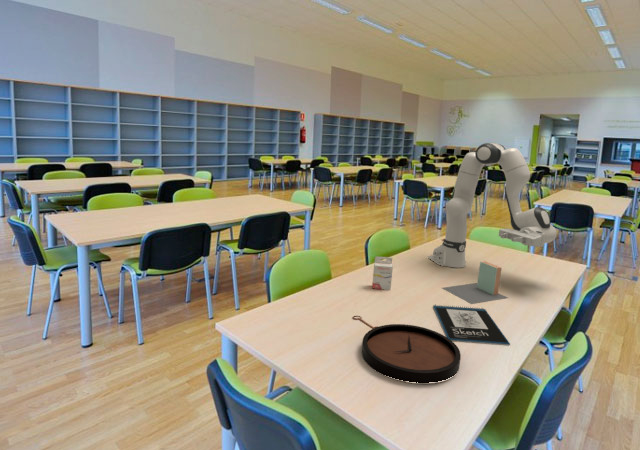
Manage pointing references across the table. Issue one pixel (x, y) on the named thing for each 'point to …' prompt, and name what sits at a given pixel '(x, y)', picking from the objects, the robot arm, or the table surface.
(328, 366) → the table surface
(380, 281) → the ink cartridge box
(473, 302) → the mat
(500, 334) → the sketchbook
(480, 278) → the tile
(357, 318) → the key
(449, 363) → the wall clock
